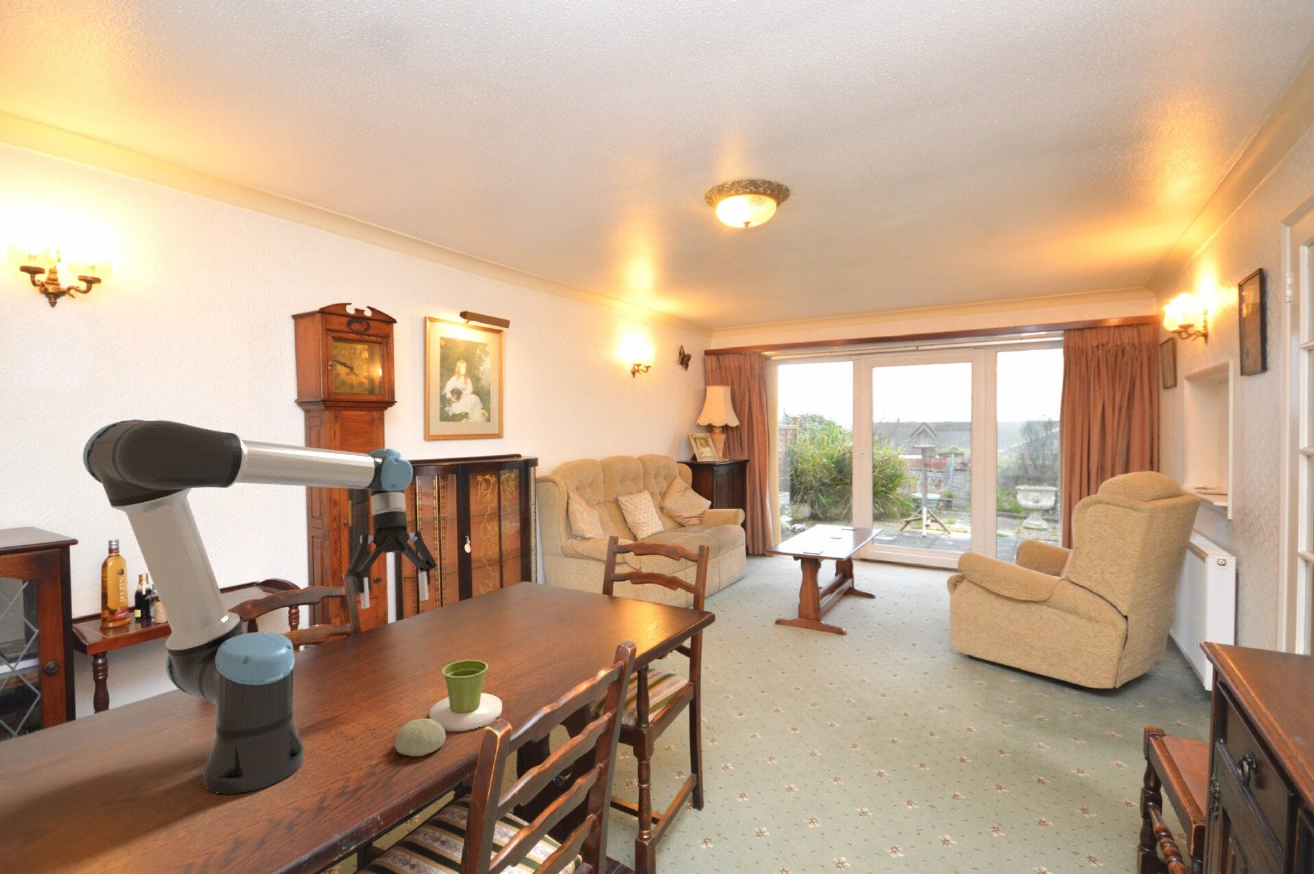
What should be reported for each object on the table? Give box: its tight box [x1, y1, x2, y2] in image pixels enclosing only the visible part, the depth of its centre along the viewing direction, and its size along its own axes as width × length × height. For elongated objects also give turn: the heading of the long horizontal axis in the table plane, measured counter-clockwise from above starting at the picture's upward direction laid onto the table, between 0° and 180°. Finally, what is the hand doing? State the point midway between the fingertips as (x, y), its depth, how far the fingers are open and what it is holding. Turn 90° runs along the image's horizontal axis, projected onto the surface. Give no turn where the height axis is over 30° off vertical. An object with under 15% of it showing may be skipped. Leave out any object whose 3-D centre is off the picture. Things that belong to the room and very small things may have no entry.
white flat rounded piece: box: [429, 692, 503, 732], centre depth 132 cm, size 15×15×2 cm
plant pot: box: [441, 659, 489, 713], centre depth 132 cm, size 9×9×9 cm
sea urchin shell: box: [394, 718, 447, 757], centre depth 119 cm, size 9×8×8 cm
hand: (396, 604), depth 140 cm, fingers open, 13 cm apart
